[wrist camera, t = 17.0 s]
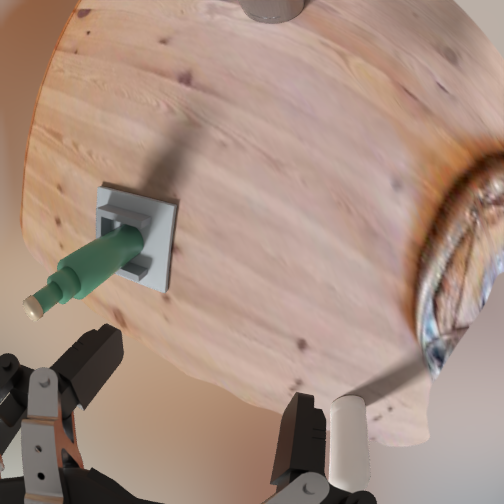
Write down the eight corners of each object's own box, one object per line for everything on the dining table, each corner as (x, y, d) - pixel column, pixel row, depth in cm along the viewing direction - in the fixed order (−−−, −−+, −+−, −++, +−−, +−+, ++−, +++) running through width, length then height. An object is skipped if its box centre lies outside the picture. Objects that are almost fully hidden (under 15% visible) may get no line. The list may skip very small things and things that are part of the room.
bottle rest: (101, 186, 42) (86, 190, 38) (177, 204, 40) (164, 210, 37) (100, 264, 48) (87, 272, 44) (167, 290, 47) (157, 302, 43)
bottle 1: (117, 219, 42) (11, 280, 21) (144, 228, 42) (38, 301, 21) (116, 250, 45) (22, 319, 24) (142, 260, 44) (50, 341, 23)
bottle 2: (326, 413, 52) (318, 530, 25) (334, 393, 49) (330, 525, 22) (359, 414, 51) (361, 527, 24) (369, 394, 48) (378, 520, 21)
